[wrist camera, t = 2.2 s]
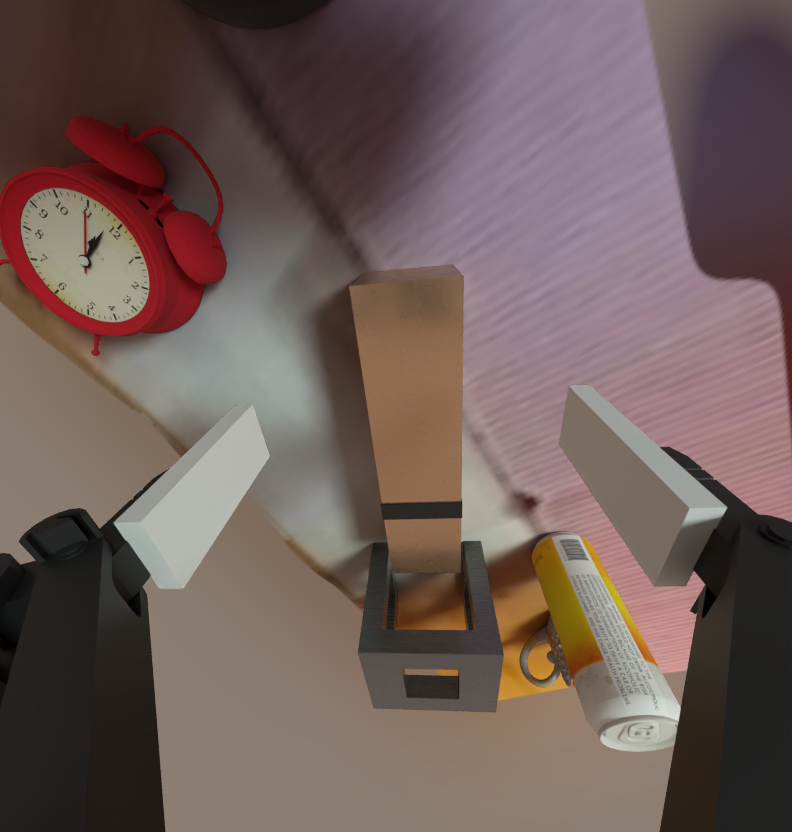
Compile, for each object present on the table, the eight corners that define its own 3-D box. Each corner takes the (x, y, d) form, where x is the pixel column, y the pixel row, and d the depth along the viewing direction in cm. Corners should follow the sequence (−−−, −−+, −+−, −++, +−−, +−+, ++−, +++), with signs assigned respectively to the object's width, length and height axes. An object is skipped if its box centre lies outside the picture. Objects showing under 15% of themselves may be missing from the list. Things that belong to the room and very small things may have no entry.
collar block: (373, 542, 36) (358, 652, 27) (480, 541, 35) (503, 655, 26) (383, 599, 41) (373, 708, 32) (477, 599, 40) (495, 712, 31)
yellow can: (530, 568, 37) (591, 754, 24) (528, 531, 34) (595, 719, 21) (588, 563, 36) (684, 753, 23) (590, 524, 33) (702, 716, 20)
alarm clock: (-49, 244, 20) (3, 12, 13) (58, 229, 25) (141, 55, 17) (104, 379, 24) (212, 264, 17) (170, 343, 29) (277, 242, 21)
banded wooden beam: (364, 272, 23) (347, 286, 17) (453, 264, 22) (464, 276, 17) (395, 520, 35) (391, 573, 29) (454, 519, 34) (461, 573, 29)
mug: (589, 593, 39) (619, 656, 33) (613, 621, 41) (644, 685, 35) (499, 624, 43) (511, 685, 37) (525, 648, 45) (540, 709, 40)
